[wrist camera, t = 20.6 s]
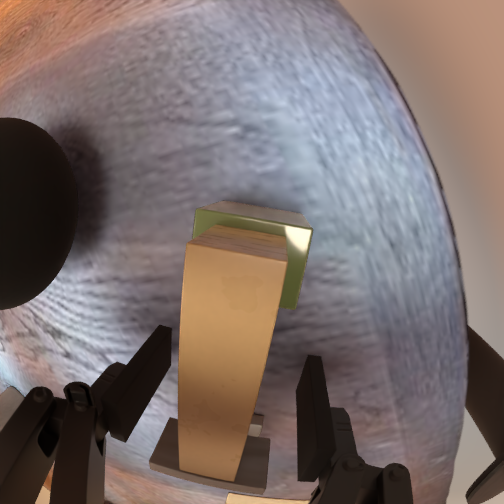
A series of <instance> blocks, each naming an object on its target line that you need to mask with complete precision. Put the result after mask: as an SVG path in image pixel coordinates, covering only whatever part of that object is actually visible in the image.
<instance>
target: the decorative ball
mask: <svg viewBox="0 0 504 504" xmlns="http://www.w3.org/2000/svg"><path fill="white" fill-rule="evenodd" d="M77 218H78V196H77V188H76V182H75V178H74V175H73V171H72V169H71V166H70V164H69V161H68V159H67V157H66V155H65V153H64V152H63V150H62V149H61V147H60V146H59V144H58V143H57V142H56V141H55V140H54V139H53V137H51V136H50V135H49V134H48V133H47V132H46V131H45V130H43V129H42V128H40V127H39V126H37V125H35V124H33V123H31V122H28V121H25V120H22V119H17V118H0V310H5V309H10V308H14V307H17V306H20V305H22V304H24V303H26V302H28V301H30V300H32V299H33V298H35V297H36V296H37V295H39V294H40V293H41V292H42V291H43V290H44V289H46V288H47V287H48V285H49V284H50V283H51V282H52V281H53V280H54V278H55V277H56V276H57V274H58V273H59V271H60V270H61V268H62V266H63V265H64V263H65V261H66V259H67V257H68V254H69V252H70V249H71V246H72V243H73V240H74V236H75V232H76V226H77Z"/></svg>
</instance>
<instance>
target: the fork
mask: <svg viewBox="0 0 504 504" xmlns="http://www.w3.org/2000/svg"><path fill="white" fill-rule="evenodd" d="M287 266H288V255H287V242H286V237H284V236H279V235H273V234H268V233H262V232H257V231H251V230H245V229H239V228H234V227H228V226H222V225H214V226H212V227H211V228H209V229H208V230H206V231H205V232H203V233H201V234H200V235H198V236H197V237H195V238H194V239H192V240H191V241H189V242H188V243H187V244H186V253H185V264H184V275H183V287H182V301H181V317H180V336H179V363H178V419H175V418H171V417H170V418H169V420H168V422H167V424H166V426H165V428H164V430H163V433H162V435H161V437H160V439H159V441H158V443H157V445H156V447H155V449H154V452H153V454H152V456H151V458H150V460H149V465H150V469H152V470H155V471H157V472H160V473H164V474H167V475H170V476H173V477H177V478H180V479H184V480H187V481H191V482H195V483H199V484H203V485H208V486H212V487H217V488H222V489H228V490H233V491H239V492H246V493H253V494H261V495H262V494H263V493H264V491H265V489H266V484H267V474H268V462H269V451H270V439H269V438H262V437H259V436H260V433H261V430H262V426H263V418H264V417H263V416H260V415H254V414H253V413H254V409H255V405H256V401H257V397H258V393H259V389H260V385H261V381H262V377H263V373H264V369H265V365H266V361H267V357H268V352H269V348H270V344H271V340H272V335H273V331H274V326H275V322H276V318H277V313H278V308H279V304H280V299H281V295H282V290H283V285H284V280H285V276H286V271H287Z"/></svg>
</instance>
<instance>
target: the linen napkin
mask: <svg viewBox="0 0 504 504" xmlns="http://www.w3.org/2000/svg"><path fill="white" fill-rule="evenodd" d="M309 501H310V500H287V499H274V498H264V497H255V496H248V495H241V494H235V493H228V497H227V500H226V504H308V503H309Z"/></svg>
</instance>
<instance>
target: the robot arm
mask: <svg viewBox="0 0 504 504" xmlns="http://www.w3.org/2000/svg"><path fill="white" fill-rule="evenodd" d="M171 340H172V328H170V327H166V326H163V325H159V326H158V327H157V328H156V330H155V331H154V332H153V333H152V334H151V336H150V337H149V338H148V339H147V340H146V342H145V343H144V344H143V345H142V347H141V348H140V349H139V350H138V351H137V353H136V354H135V355H134V356H133V358H132V359H131V360H130V361H129V363H128V364H127V365H125V364H122V363H119V362H116V363H114V364H112V365H110V366H108V367H107V369H106V370H105V371H104V372H103V373H102V374H101V375H100V376H99V378H98V379H97V380H96V381H95V382H94V383H93V385H92V386H91V387H90V386H89V385H87V384H86V383H83V382H72V383H69V384H68V385H66V386H65V388H64V389H63V390H64V393H65V396H66V399H62V398H58V397H54V396H53V393H52V392H51V390H50V389H48V388H46V387H42V386H41V387H35V388H33V389H32V390H31V391H30V392H29V393H28V394H27V396H26V397H25V398H24V400H23V401H22V402H21V404H20V405H19V406H18V408H17V409H16V410H15V412H14V413H13V414H12V416H11V417H10V419H9V420H8V421H7V423H6V424H5V426H4V427H3V429H2V430H1V431H0V504H35V502H36V499H37V497H38V495H39V493H40V490H41V488H42V486H43V484H44V482H45V479H46V477H47V475H48V473H49V471H50V469H51V467H52V465H53V463H54V461H55V464H54V470H53V477H52V484H51V493H50V503H49V504H104V480H105V454H106V437H105V435H106V434H107V432H108V431H109V432H110V435H111V437H113V438H115V439H118V440H120V441H123V442H125V443H126V441H127V440H128V438H129V436H130V434H131V433H132V431H133V429H134V427H135V426H136V424H137V422H138V421H139V419H140V417H141V415H142V414H143V412H144V410H145V409H146V407H147V405H148V403H149V402H150V400H151V398H152V397H153V395H154V393H155V392H156V390H157V388H158V386H159V385H160V383H161V381H162V380H163V378H164V376H165V375H166V373H167V371H168V369H169V368H170V366H171ZM296 405H297V456H298V481H303V482H315V480H316V479H317V478H318V476H319V485H318V486H317V488H316V489H315V490H314V491H313V492H312V494H311V495H312V497H311V499H310V501H309V503H308V504H413V496H412V487H411V480H410V473H409V471H408V469H407V468H406V467H405V466H403V465H402V464H398V463H392V464H389V465H387V466H386V467H385V468H379V467H375V466H371V465H367V464H366V463H365V461H364V460H363V459H362V458H361V457H360V456H358V454H357V450H356V445H355V440H354V436H353V431H352V426H351V422H350V417H349V415H348V413H347V412H346V411H345V409H344V408H336V407H330V403H329V397H328V391H327V386H326V380H325V375H324V369H323V364H322V359H321V356H314V355H308V356H307V359H306V362H305V365H304V368H303V371H302V374H301V377H300V380H299V383H298V386H297V389H296Z"/></svg>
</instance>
